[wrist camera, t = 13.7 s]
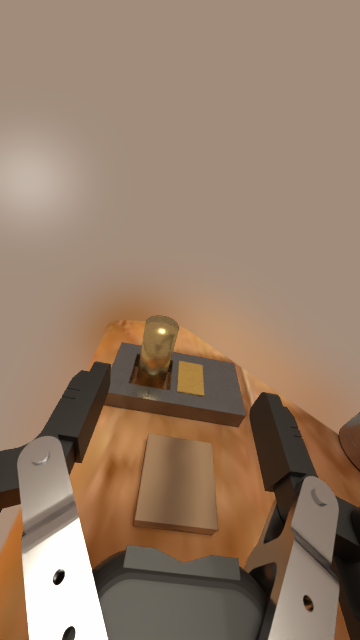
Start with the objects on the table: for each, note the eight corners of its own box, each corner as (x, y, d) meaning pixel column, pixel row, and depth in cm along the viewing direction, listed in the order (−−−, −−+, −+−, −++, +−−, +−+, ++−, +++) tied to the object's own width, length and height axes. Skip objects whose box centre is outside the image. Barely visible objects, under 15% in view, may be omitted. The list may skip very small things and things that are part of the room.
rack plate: (228, 374, 40) (234, 362, 39) (238, 426, 32) (246, 414, 30) (120, 354, 39) (122, 341, 37) (102, 404, 30) (102, 390, 29)
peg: (164, 375, 37) (179, 319, 30) (161, 398, 33) (178, 339, 27) (139, 371, 37) (148, 312, 30) (133, 393, 33) (142, 332, 26)
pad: (207, 450, 28) (211, 443, 27) (212, 535, 22) (218, 529, 21) (146, 441, 28) (148, 433, 27) (132, 525, 21) (135, 519, 20)
